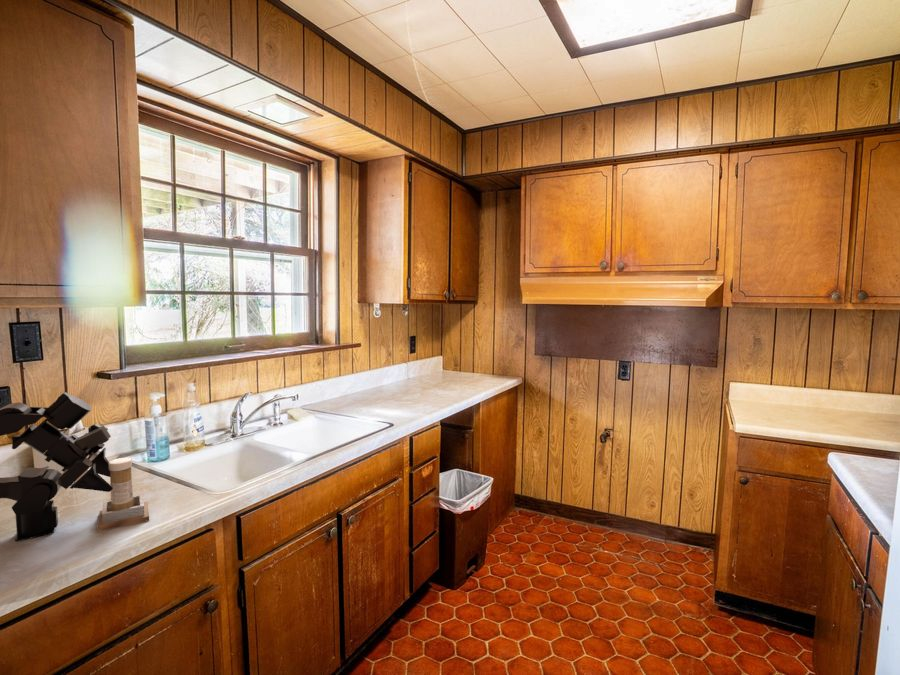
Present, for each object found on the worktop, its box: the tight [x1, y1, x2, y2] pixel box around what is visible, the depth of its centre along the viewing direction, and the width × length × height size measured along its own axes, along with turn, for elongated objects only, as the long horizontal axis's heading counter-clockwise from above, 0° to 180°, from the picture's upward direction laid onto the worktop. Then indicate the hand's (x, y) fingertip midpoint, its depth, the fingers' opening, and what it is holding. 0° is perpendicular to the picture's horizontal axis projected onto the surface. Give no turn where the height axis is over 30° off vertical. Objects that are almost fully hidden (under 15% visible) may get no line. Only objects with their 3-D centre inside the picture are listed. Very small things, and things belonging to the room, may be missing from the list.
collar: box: [102, 493, 145, 524], centre depth 116 cm, size 8×8×2 cm
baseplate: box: [97, 501, 150, 532], centre depth 116 cm, size 10×10×1 cm
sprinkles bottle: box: [109, 457, 134, 511], centre depth 115 cm, size 5×5×14 cm
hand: (114, 483), depth 114 cm, fingers open, 9 cm apart
